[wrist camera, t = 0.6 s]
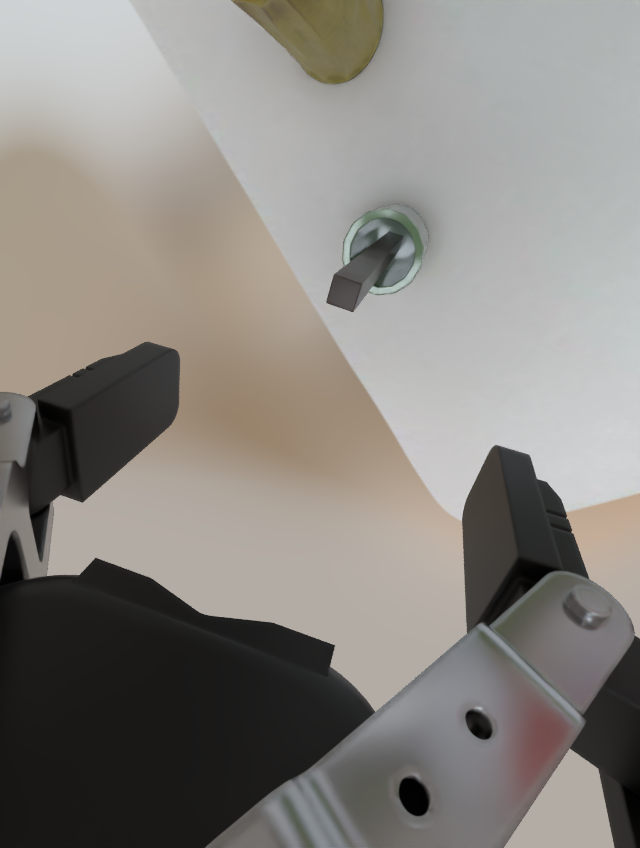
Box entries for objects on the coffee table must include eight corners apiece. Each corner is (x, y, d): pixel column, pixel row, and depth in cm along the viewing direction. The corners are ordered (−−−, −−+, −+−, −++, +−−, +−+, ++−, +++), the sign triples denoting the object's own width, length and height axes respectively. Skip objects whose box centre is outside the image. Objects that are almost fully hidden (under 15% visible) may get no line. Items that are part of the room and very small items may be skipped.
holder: (373, 195, 32) (355, 197, 26) (439, 216, 32) (436, 224, 26) (352, 263, 35) (332, 279, 29) (413, 284, 34) (406, 305, 28)
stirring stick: (388, 231, 33) (333, 274, 17) (403, 236, 32) (362, 283, 17) (383, 247, 33) (325, 303, 18) (398, 252, 33) (353, 312, 18)
